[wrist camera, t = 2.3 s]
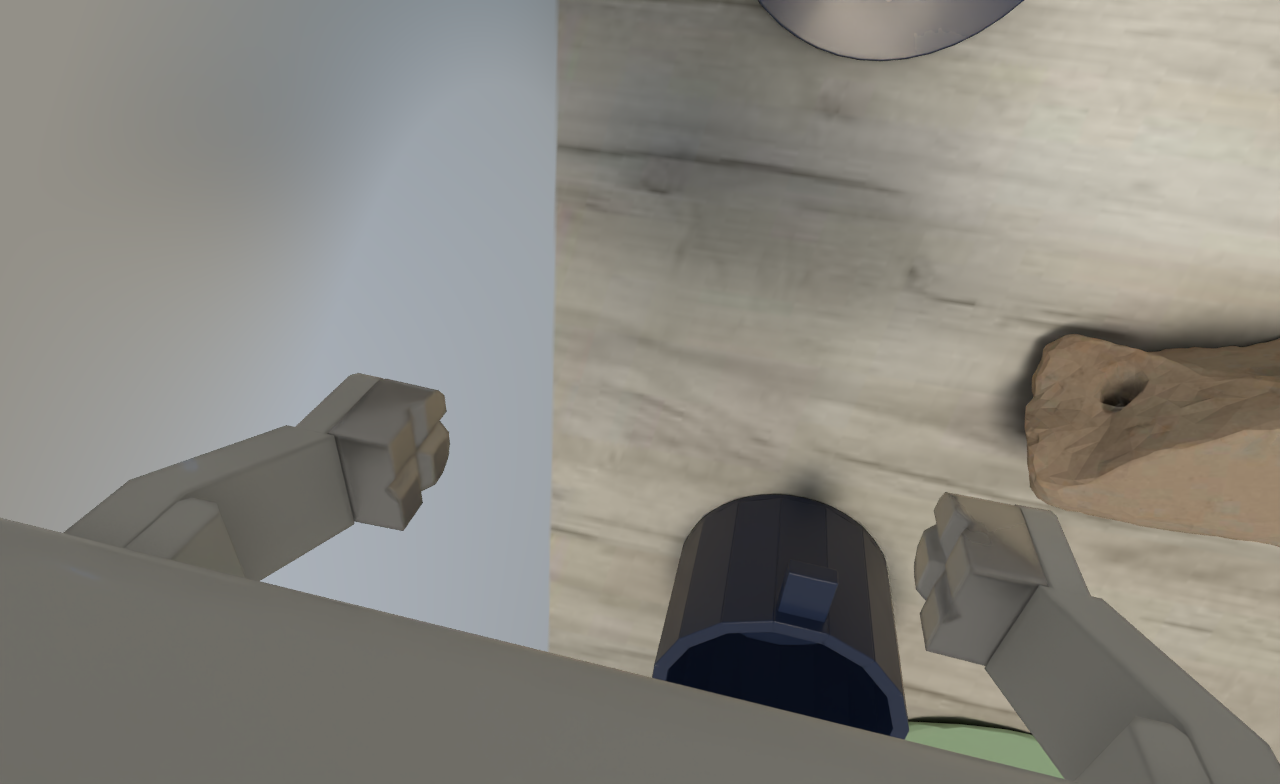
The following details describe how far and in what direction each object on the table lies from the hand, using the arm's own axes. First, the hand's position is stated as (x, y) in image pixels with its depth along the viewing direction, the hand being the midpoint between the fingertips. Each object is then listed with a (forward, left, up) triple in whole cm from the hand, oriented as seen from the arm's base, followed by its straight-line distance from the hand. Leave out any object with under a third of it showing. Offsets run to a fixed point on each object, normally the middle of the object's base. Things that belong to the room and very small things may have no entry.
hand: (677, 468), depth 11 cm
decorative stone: (+24, -7, -26) cm, 36 cm away
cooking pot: (+6, -26, -26) cm, 37 cm away
